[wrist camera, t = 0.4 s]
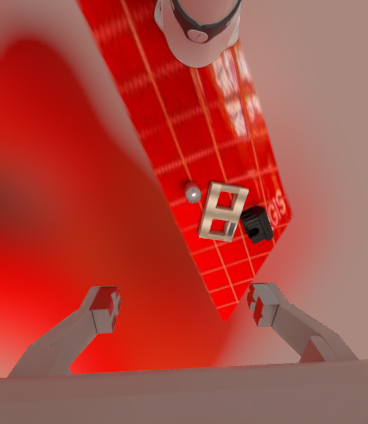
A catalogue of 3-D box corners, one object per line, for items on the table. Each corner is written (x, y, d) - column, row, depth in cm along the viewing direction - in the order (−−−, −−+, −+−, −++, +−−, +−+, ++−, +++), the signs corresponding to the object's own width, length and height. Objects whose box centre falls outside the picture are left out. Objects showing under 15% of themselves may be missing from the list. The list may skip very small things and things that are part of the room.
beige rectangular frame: (210, 181, 53) (212, 183, 51) (245, 187, 55) (249, 190, 52) (197, 232, 60) (199, 237, 57) (228, 237, 62) (231, 242, 59)
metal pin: (185, 180, 53) (187, 187, 46) (198, 182, 53) (202, 189, 46) (183, 192, 54) (184, 201, 47) (195, 194, 55) (199, 204, 48)
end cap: (266, 227, 61) (277, 237, 55) (247, 235, 62) (255, 247, 56) (258, 203, 57) (269, 211, 51) (238, 212, 58) (245, 221, 52)
